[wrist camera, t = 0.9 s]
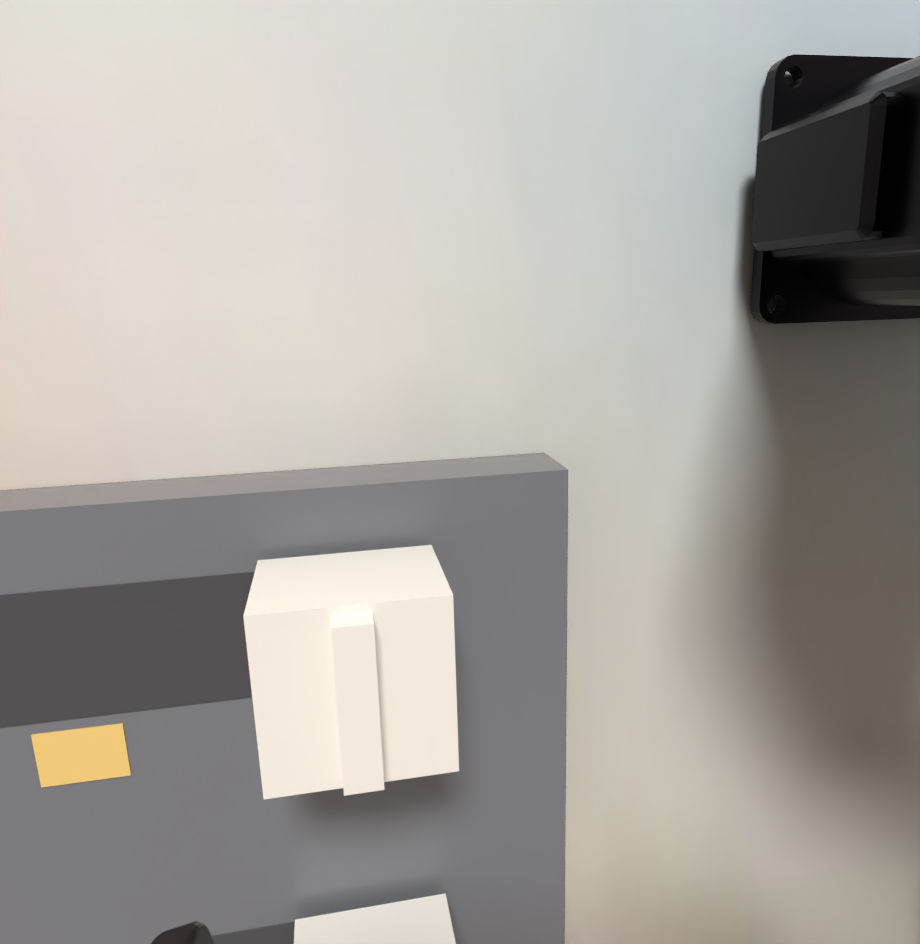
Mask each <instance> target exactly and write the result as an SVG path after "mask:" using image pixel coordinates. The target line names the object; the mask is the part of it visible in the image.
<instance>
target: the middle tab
mask: <svg viewBox="0 0 920 944" xmlns="http://www.w3.org/2000/svg"><path fill="white" fill-rule="evenodd" d="M294 944H456V942H455V937H454V932H453V927H452V922H451V917H450V912H449V908H448V903H447V898H446V893H445V894H439V895H433V896H428V897H422V898H416V899H411V900H405V901H399V902H393V903H388V904H382V905H376V906H370V907H365V908H359V909H353V910H347V911H342V912H336V913H330V914H324V915H319V916H313V917H307V918H302V919H296V920H295V927H294Z"/></svg>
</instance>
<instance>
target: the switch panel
mask: <svg viewBox="0 0 920 944" xmlns="http://www.w3.org/2000/svg"><path fill="white" fill-rule="evenodd" d="M423 545H432V547H433V550H434V552H435V554H436V556H437V559H438V561H439V563H440V566H441V568H442V570H443V573H444V575H445V577H446V579H447V582H448V584H449V586H450V589H451V591H452V593H453V603H454V633H455V663H456V693H457V723H458V752H459V771H457V772H450V773H443V774H436V775H429V776H423V777H416V778H409V779H402V780H395V781H388V782H384V790H380V791H373V792H366V793H359V794H353V795H346V796H344V790H343V788H340V789H333V790H326V791H319V792H312V793H305V794H299V795H292V796H285V797H278V798H271V799H263V790H262V781H261V772H260V763H259V754H258V745H257V736H256V727H255V718H254V709H253V700H252V691H251V682H250V672H249V663H248V654H247V645H246V636H245V627H244V618H243V615H244V611H245V608H246V604H247V600H248V596H249V592H250V588H251V584H252V581H253V577H254V573H255V569H256V565H257V561H258V560H267V559H278V558H289V557H300V556H312V555H323V554H334V553H345V552H356V551H367V550H379V549H390V548H401V547H412V546H423ZM567 545H568V469H566V468H565V467H564V466H562V465H561V464H559V463H558V462H556V461H555V460H553V459H552V458H551V457H549V456H548V455H546V454H545V453H536V454H522V455H507V456H493V457H479V458H464V459H450V460H435V461H421V462H406V463H392V464H377V465H363V466H349V467H334V468H320V469H305V470H291V471H276V472H262V473H247V474H233V475H218V476H204V477H190V478H175V479H161V480H146V481H132V482H117V483H103V484H88V485H74V486H60V487H45V488H31V489H16V490H2V491H0V944H151V943H152V941H153V940H154V939H155V938H156V937H157V936H158V935H159V934H160V933H162V932H164V931H166V930H169V929H172V928H176V927H179V926H182V925H185V924H188V923H191V922H195V921H199V922H203V923H204V924H205V925H206V926H207V928H208V929H209V931H210V934H211V936H212V938H213V941H214V943H215V944H294V927H295V920H296V919H302V918H307V917H313V916H319V915H324V914H330V913H336V912H342V911H347V910H353V909H359V908H365V907H370V906H376V905H382V904H388V903H393V902H399V901H405V900H411V899H416V898H422V897H428V896H433V895H439V894H445V893H446V898H447V903H448V908H449V912H450V917H451V922H452V927H453V932H454V937H455V942H456V944H564V927H565V799H566V672H567Z"/></svg>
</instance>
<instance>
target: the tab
mask: <svg viewBox="0 0 920 944" xmlns="http://www.w3.org/2000/svg"><path fill="white" fill-rule="evenodd" d="M243 618H244V627H245V636H246V645H247V654H248V663H249V672H250V682H251V691H252V700H253V709H254V718H255V727H256V736H257V745H258V754H259V763H260V772H261V781H262V790H263V799H271V798H278V797H285V796H292V795H299V794H305V793H312V792H319V791H326V790H333V789H340V788H343V790H344V796H346V795H353V794H359V793H366V792H373V791H380V790H384V782H388V781H395V780H402V779H409V778H416V777H423V776H429V775H436V774H443V773H450V772H457V771H459V752H458V723H457V693H456V663H455V633H454V603H453V593H452V591H451V589H450V586H449V584H448V582H447V579H446V577H445V575H444V573H443V570H442V568H441V566H440V563H439V561H438V559H437V556H436V554H435V552H434V550H433V547H432V545H423V546H412V547H401V548H390V549H379V550H367V551H356V552H345V553H334V554H323V555H312V556H300V557H289V558H278V559H267V560H258V561H257V565H256V569H255V573H254V577H253V581H252V584H251V588H250V592H249V596H248V600H247V604H246V608H245V611H244V615H243Z"/></svg>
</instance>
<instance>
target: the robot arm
mask: <svg viewBox="0 0 920 944" xmlns="http://www.w3.org/2000/svg"><path fill="white" fill-rule="evenodd" d="M786 71H788V72H789V73H790V74H791V75H792V79H793V83H792V87H791V88H790V87H788V86H787V85H786V83H785V80H784V75H785V72H786ZM752 243H753V245H754V246H755V247H754V262H753V277H752V291H751V313H752V314H753V316H754V318H755V319H756V320H758V321H759V322H762V323H770V324H781V323H806V322H832V321H857V320H883V319H908V318H920V56H918V57H916V58H888V57H857V56H825V55H791V56H787V57H785V58H783V59H782V60H780V61H778V62H777V63H775V64H774V65H773V66H772V67H771V68H770V70H769V72H768V73H767V78H766V84H765V99H764V114H763V128H762V140H761V141H760V142H759V144H758V151H757V166H756V181H755V196H754V212H753V227H752ZM772 296H773V297H774V298H775V301H776V306H775V309H774V310H773V311H772V312H771V313H770V311H769V310H768V301H769V299H770V298H771V297H772ZM151 944H215V943H214V941H213V938H212V936H211V934H210V931H209V929H208V928H207V926H206V925H205V924H204V923H203V922H199V921H195V922H191V923H188V924H185V925H182V926H179V927H176V928H172V929H169V930H166V931H164V932H162V933H160V934H159V935H158V936H157V937H156V938H155V939H154V940H153V941H152V943H151Z"/></svg>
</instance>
